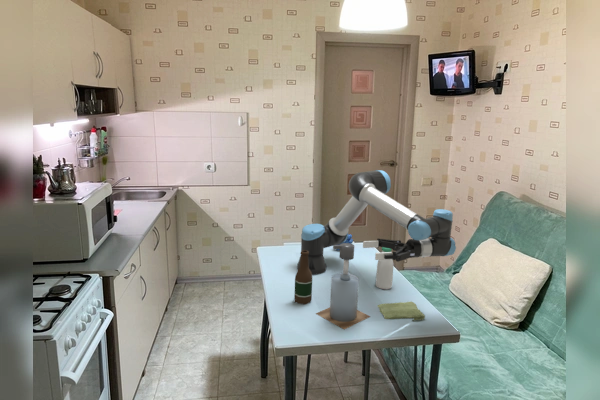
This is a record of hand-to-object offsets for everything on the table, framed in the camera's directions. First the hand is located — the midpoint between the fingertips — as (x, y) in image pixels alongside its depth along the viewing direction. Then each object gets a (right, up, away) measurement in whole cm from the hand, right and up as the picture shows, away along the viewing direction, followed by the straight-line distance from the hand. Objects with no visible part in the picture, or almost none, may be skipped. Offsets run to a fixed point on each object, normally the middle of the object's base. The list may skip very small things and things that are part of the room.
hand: (369, 250), depth 169 cm
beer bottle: (-26, -25, +16) cm, 40 cm away
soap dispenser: (-10, -27, +4) cm, 29 cm away
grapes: (-2, -10, +82) cm, 83 cm away
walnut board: (-10, -28, +5) cm, 30 cm away
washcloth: (+15, -29, +9) cm, 34 cm away
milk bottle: (+13, -22, +35) cm, 44 cm away
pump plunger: (-11, -9, 0) cm, 14 cm away
